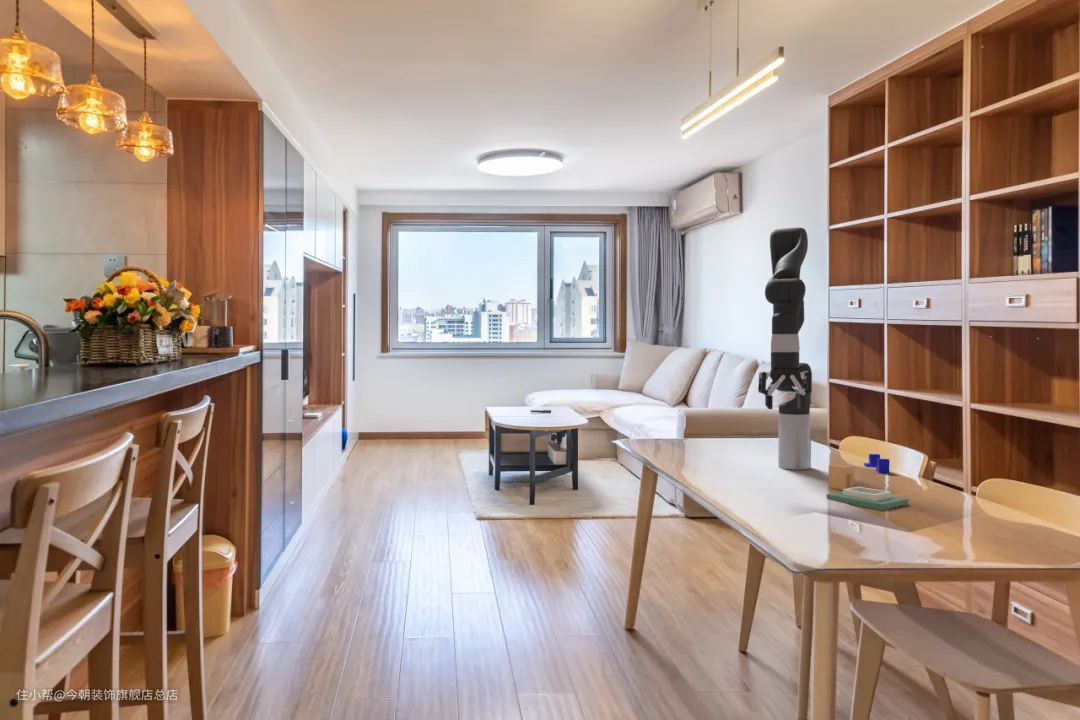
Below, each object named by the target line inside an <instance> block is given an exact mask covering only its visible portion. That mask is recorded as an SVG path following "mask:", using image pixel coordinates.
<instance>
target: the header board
mask: <svg viewBox="0 0 1080 720" xmlns="http://www.w3.org/2000/svg"><path fill="white" fill-rule="evenodd" d="M826 499H828V500H831V501H836V502H840V503H844V504H848V505H850V504H852V506H855V505H857V506H856V507H860V506H861V508H866V509H872V510H877V511H885V510H891V508H892V509H895V508H894V507H896V508H899V507H898V506H901V507H903V506H902V505H905V504H908V505H909V498H905V497H901V496H900V497H899V496H893V495H892V491H887V490H881V489H876V488H869V487H864V486H855V487H853V488H847V489H843V490H841V491H837V492H831V493H827V494H826ZM905 506H906V505H905Z"/></svg>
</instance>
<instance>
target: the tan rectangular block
mask: <svg viewBox="0 0 1080 720" xmlns="http://www.w3.org/2000/svg"><path fill="white" fill-rule="evenodd" d="M854 468H855V466H852V465H846V464H839V463H834V464H829V465H828V488H830V489H834V490H840V491H843V489H847V488H853V487H854V486H855V474H854V473H855V469H854Z"/></svg>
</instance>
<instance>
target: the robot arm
mask: <svg viewBox="0 0 1080 720" xmlns="http://www.w3.org/2000/svg"><path fill="white" fill-rule="evenodd" d="M808 248H809V239H808V232H807V230H806V229H805V228H803V227H789V228H787V227H785V228H776V229H774V230H773V229H772V231H771V232H770V237H769V249H770V251H769V253H770V261H771V272H772V273H771V274H772V276H771V277H770V278H769V279H768V281H767V283H766V285H765V287H764V288H765V289H764V295H765V299H766V300H767V302H768V303H770V304H772V312H773V314H772V317H771V339H770V371H768V372H767V371H760V372H759V373H758V387H757V389H758V390H757V392H758V394H762V395H764V397H765V398H764V403H765V407H766V408H767V410H773V393H774V392H775V391H776V390H777V391H778V392H789V393H795V396H794V397H793V398H792V399H791V400H788V401H786V402H782V403H779V405H778V451H777V452H778V461H777V462H778V465H777V466H778V468H780V469H786V470H793V471H795V470H796V471H798V470H799V471H803V470H809V469H811V467H812V438H811V437H810V431H811V430H810V429H811V427H810V425H811V424H810V421H811V420H810V412H811V411H810V408H811V403H812V401H811V400H812V391H813V389H812V387H813V384H812V383H813V373H812V372H813V371H812V368H811V366H810V365H809V364H808V363H806V362H800V350H801V349H800V348H801V347H800V338H799V332H800V331H801V328H802V327H803V325H804V322H805V301H804V298H805V296H806V288H807V287H806V285H805V283H804V281H803V280H802V279H800V278H801V277H800V276H801V270H802V269H801V268H802V265H803V264H804V261H805V259H806V256H807V254H808ZM769 378H770V379H771V382H770V383H769V384H768V386H767V380H768V379H769Z"/></svg>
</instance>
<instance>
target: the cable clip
mask: <svg viewBox="0 0 1080 720" xmlns="http://www.w3.org/2000/svg"><path fill="white" fill-rule="evenodd" d="M863 466H864V467H866V468H872V469H875V471H876V472H877V473H878V474H890V458H881V454H879V453H869V454H868V462H863Z"/></svg>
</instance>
